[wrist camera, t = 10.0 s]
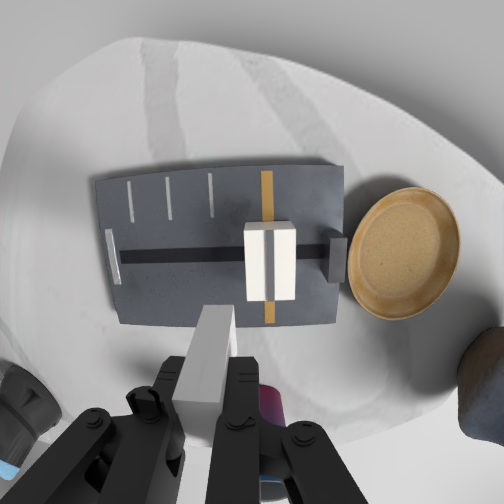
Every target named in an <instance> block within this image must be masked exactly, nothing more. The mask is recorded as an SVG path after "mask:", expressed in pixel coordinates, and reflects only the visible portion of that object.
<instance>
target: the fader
mask: <svg viewBox="0 0 504 504" xmlns="http://www.w3.org/2000/svg"><path fill="white" fill-rule="evenodd" d="M244 246H245V268H246V289H247V301H268V302H275V300H295V270H296V229H295V227H294V226H293V224H292V222H291V221H267V222H246V223H245V228H244Z"/></svg>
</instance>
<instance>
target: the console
mask: <svg viewBox="0 0 504 504" xmlns="http://www.w3.org/2000/svg"><path fill="white" fill-rule="evenodd" d="M95 184H96V196H97V205H98V214H99V222H100V229H101V236H102V243H103V249H104V254H105V260H106V265H107V270H108V275H109V280H110V285H111V289H112V294H113V298H114V302H115V306H116V310H117V314H118V318H119V322H120V324H131V325H147V326H168V327H196V326H197V323H198V321H199V318H200V315H201V312H202V309H203V307H204V305H234V315H235V328H239V327H279V326H300V325H317V324H331V323H336V315H337V305H338V295H339V284H340V283H344V281H345V269H346V254H347V237H346V236H344V235H343V207H344V166H337V165H254V166H231V167H214V168H201V169H188V170H178V171H168V172H158V173H150V174H142V175H134V176H127V177H120V178H113V179H107V180H101V181H95ZM267 221H291V222H292V224H293V226H294V227H295V229H296V270H295V300H275V302H268V301H247V289H246V268H245V246H244V228H245V223H246V222H267Z"/></svg>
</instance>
